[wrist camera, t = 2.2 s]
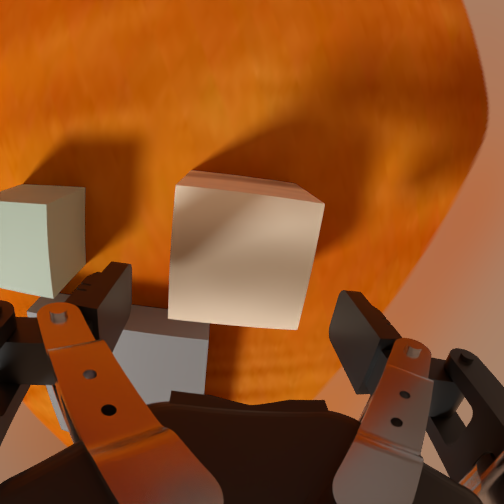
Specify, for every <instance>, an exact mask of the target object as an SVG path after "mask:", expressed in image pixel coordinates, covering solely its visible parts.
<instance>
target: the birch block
mask: <svg viewBox="0 0 504 504" xmlns="http://www.w3.org/2000/svg"><path fill="white" fill-rule="evenodd" d="M324 207H325V204H324V203H323V202H322V201H320V200H319V199H317V198H316V197H314V196H313V195H312V194H310V193H309V192H307V191H306V190H304V189H303V188H301V187H300V186H298V185H297V184H295V183H289V182H283V181H276V180H269V179H262V178H254V177H247V176H239V175H231V174H222V173H214V172H204V171H195V170H191V171H190V172H189V173H188V174H187V175H186V176H185V177H184V178H183V179H182V180H181V181H180V182H179V183H178V184H177V185H176V190H175V201H174V212H173V225H172V239H171V255H170V274H169V298H168V319H175V320H184V321H193V322H202V323H212V324H223V325H234V326H246V327H260V328H274V329H291V330H297V329H298V325H299V321H300V317H301V313H302V308H303V304H304V300H305V296H306V292H307V287H308V283H309V279H310V274H311V270H312V265H313V261H314V256H315V251H316V247H317V242H318V237H319V232H320V227H321V222H322V217H323V212H324Z"/></svg>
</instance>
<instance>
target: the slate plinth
mask: <svg viewBox="0 0 504 504" xmlns="http://www.w3.org/2000/svg"><path fill="white" fill-rule="evenodd" d="M69 296H70V295H67V294H61V293H58V294H57V296H56V297H55V298H54V299H52V298H47V297H40V298H39V299H38V300H37V301H36V302H35V303H34V304H33V305H32V306H31V307H30V308H29V309H28V311H27V315H28V317H37V312H38V311H39V309H40V308H42V307H43V306H45V305H47V304H50V303H55V302H65V301H66V299H67V298H68V297H69ZM209 328H210V323H202V322H193V321H184V320H175V319H168V309H163V308H155V307H147V306H139V305H132V304H131V312H130V316H129V319H128V321H127V323H126V325H125V327H124V329H123V331H122V333H121V335H120V338H119V340H118V342H117V344H116V346H115V348H114V350H113V352H112V353H113V355H114V357H115V358H116V360H117V362H118V363H119V365H120V366H121V368H122V369H123V371H124V373H125V374H126V376H127V377H128V379H129V380H130V382H131V383H132V385H133V386H134V388H135V389H136V391H137V392H138V393H139V395H140V396H141V398H142V399H143V401H144V402H145V403H146V405H147V404H151V403H156V402H164V401H170V395H171V390H172V391H180V392H187V393H196V394H204V390H205V377H206V365H207V354H208V343H209ZM46 387H47V390H48V393H49V396H50V399H51V402H52V405H53V408H54V410H55V413H56V416H57V418H58V421H59V423H60V426H61V429H62V430H65V431H68V432H69V430H68V427H67V425H66V423H65V420H64V418H63V415H62V412H61V410H60V407H59V405H58V402H57V399H56V396H55V393H54V391H53V388H52V385H46Z"/></svg>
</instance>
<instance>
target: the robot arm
mask: <svg viewBox="0 0 504 504" xmlns="http://www.w3.org/2000/svg"><path fill="white" fill-rule="evenodd" d="M131 304H132V267H131V264H126V263H119V262H111V263H110V264H109V265H108V266H107V267H106V268H105V269H104V271H103V272H102V273H101V272H96V273H94V274H92V275H90V276H87V277H86V278H85V279H84V281H83V282H82V283H81V284H80V285H79V286H78V287H77V290H76V289H75V290H74V292H73V293H72V294H71V295H70V296H69V297H68V298H67V299H66V301H65V302H55V303H50V304H47V305H45V306H43V307H42V308H40V309H39V311H38V312H37V317H15V312H14V307H13V305H12V304H11V303H9V302H7V301H2V300H0V445H1V443H2V441H3V439H4V437H5V435H6V432H7V430H8V428H9V426H10V424H11V422H12V420H13V418H14V416H15V414H16V412H17V410H18V408H19V406H20V404H21V402H22V400H23V398H24V396H25V395H26V393H27V391H28V389H29V387H30V385H52V388H53V391H54V393H55V396H56V399H57V402H58V405H59V407H60V410H61V412H62V415H63V418H64V420H65V423H66V425H67V427H68V430H69V433H70V435H71V438H72V440H73V443H74V444H73V445H71V446H69V447H67V448H66V449H64V450H62V451H60V452H58V453H57V454H55V455H53V456H51V457H49V458H48V459H46V460H44V461H42V462H40V463H38V464H37V465H34V466H33V467H31V468H29V469H27V470H25V471H23V472H21V473H19V474H17V475H15V476H13V477H11V478H9V479H7V480H6V481H4V482H2V483H1V484H0V504H504V387H503V386H502V385H501V383H500V382H499V381H498V380H497V379H496V377H495V376H494V375H493V374H492V373H491V372H490V371H489V370H488V368H487V367H486V366H485V365H484V364H483V363H482V362H481V360H480V359H479V358H478V357H477V356H475V355H474V354H472V353H471V352H469V351H467V350H464V349H458V348H456V349H452V350H451V351H450V353H449V355H448V357H447V359H446V360H441V359H436V358H431V352H430V350H429V349H428V348H427V347H426V346H425V345H424V344H422V343H420V342H418V341H416V340H413V339H409V338H402V337H401V336H400V334H399V333H398V332H397V331H396V329H395V328H394V327H393V326H392V325H391V324H390V322H389V321H388V320H387V319H386V317H385V316H384V315H383V314H382V312H381V311H380V310H378V309H377V308H375V307H374V306H372V305H371V304H370V303H369V301H368V300H367V299H366V298H365V297H364V295H363V294H362V293H361V292H356V291H346V290H343V291H341V292H340V294H339V296H338V300H337V303H336V307H335V310H334V313H333V317H332V320H331V323H330V327H329V338H330V341H331V343H332V345H333V347H334V349H335V351H336V353H337V355H338V357H339V359H340V362H341V364H342V366H343V368H344V370H345V372H346V374H347V376H348V378H349V380H350V382H351V384H352V386H353V388H354V390H355V392H356V394H370V395H371V396H370V398H369V400H368V402H367V404H366V406H365V408H364V410H363V412H362V414H361V416H360V418H359V420H358V421H357V420H355V419H353V418H351V417H349V416H346V415H343V414H341V413H337V412H333V411H328V408H327V406H326V403H325V401H324V400H286V401H280V402H274V403H267V404H260V405H246V404H242V403H238V402H234V401H230V400H227V399H223V398H219V397H215V396H212V395H205V394H196V393H187V392H180V391H172V390H171V395H170V401H164V402H156V403H151V404H147V405H146V403H145V402H144V401H143V399H142V398H141V396H140V395H139V393H138V392H137V391H136V389H135V388H134V386H133V385H132V383H131V382H130V380H129V379H128V377H127V376H126V374H125V373H124V371H123V369H122V368H121V366H120V365H119V363H118V362H117V360H116V358H115V357H114V355H113V353H112V352H113V350H114V348H115V346H116V344H117V342H118V340H119V338H120V335H121V333H122V331H123V329H124V327H125V325H126V323H127V321H128V319H129V316H130V312H131ZM464 397H465V398H466V399H467V401H468V402H469V404H470V405H471V407H472V410H473V417H472V419H471V421H470V423H469V424H468V426H467V427H466V426H465V425H464V423H463V422H462V420H461V419H460V417H459V416H458V414H457V412H456V410H457V408H458V407H459V405H460V403H461V402H462V400H463V399H464ZM425 431H426V432H427V433H428V435H429V437H430V439H431V441H432V443H433V445H434V447H435V449H436V451H437V452H438V455H439V457H440V458H441V461H442V463H443V464H444V467H445V468H446V471H447V473H448V475H449V476H450V478H449V477H447V476H446V475H444V474H442V473H441V472H439V471H437V470H435V469H434V468H432V467H430V466H429V465H427V464H425V463H424V462H423V457H421V449H422V445H423V440H424V436H425Z"/></svg>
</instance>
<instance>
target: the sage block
mask: <svg viewBox="0 0 504 504" xmlns="http://www.w3.org/2000/svg"><path fill="white" fill-rule="evenodd" d="M85 264H86V250H85V187H72V186H54V185H33V184H22V185H19V186H16V187H13V188H10V189H7V190H4V191H1V192H0V288H3V289H8V290H12V291H17V292H22V293H26V294H31V295H36V296H41V297H47V298H52V299H54V298H55V297H56V296H57V294H58V293H59V292H60V291H61V290H62V289H63V288H64V287H65V286H66V285H67V283H68V282H69V281H70V280H71V279H72V278H73V277H74V276H75V275H76V274H77V273H78V272H79V271H80V270H81V269H82V268H83V267H84V266H85Z"/></svg>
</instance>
